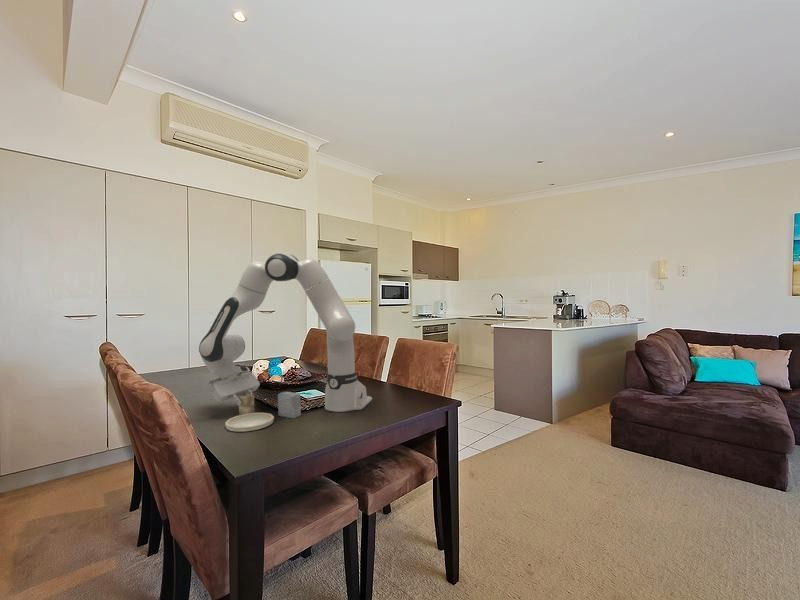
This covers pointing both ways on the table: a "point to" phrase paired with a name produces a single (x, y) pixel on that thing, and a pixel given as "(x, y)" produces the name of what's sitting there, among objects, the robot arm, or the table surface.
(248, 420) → the dish
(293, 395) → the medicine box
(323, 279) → the robot arm
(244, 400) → the birch block
